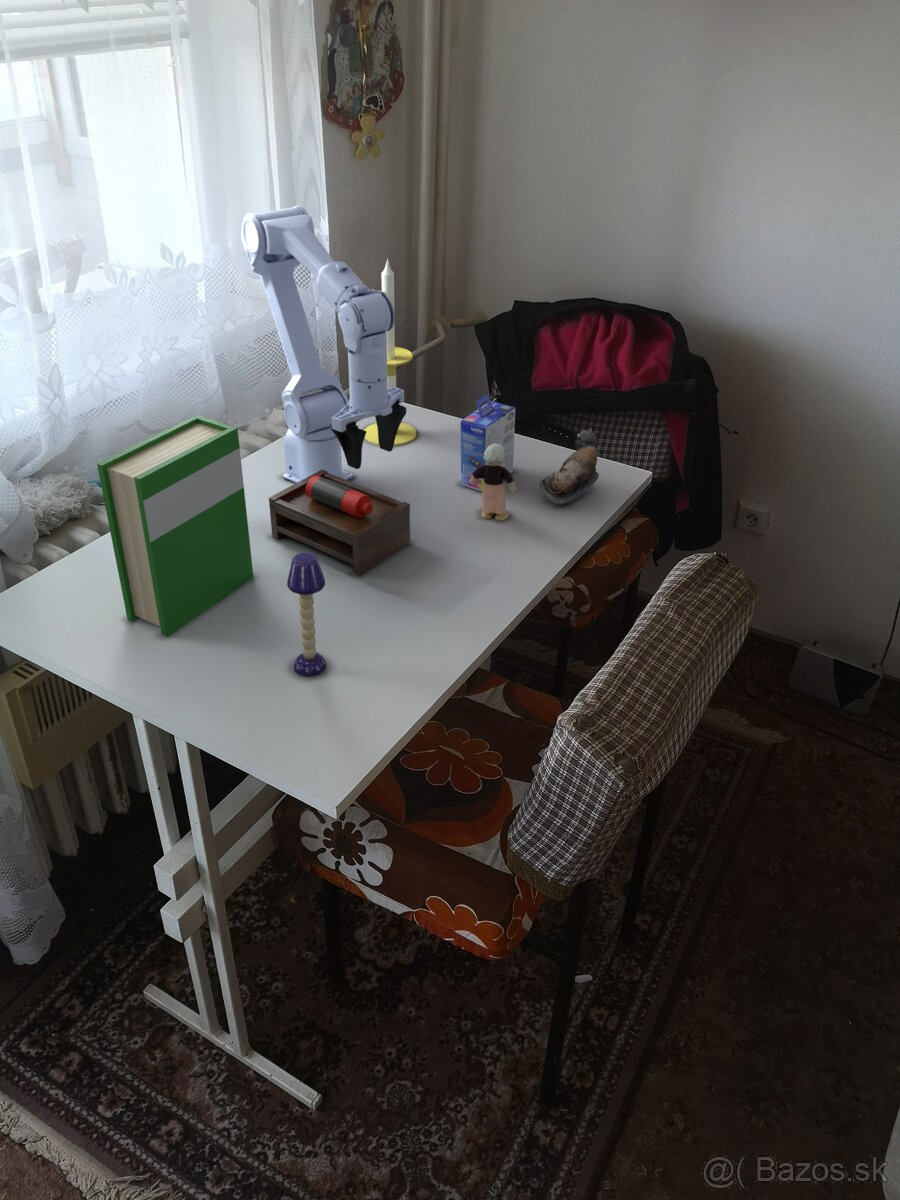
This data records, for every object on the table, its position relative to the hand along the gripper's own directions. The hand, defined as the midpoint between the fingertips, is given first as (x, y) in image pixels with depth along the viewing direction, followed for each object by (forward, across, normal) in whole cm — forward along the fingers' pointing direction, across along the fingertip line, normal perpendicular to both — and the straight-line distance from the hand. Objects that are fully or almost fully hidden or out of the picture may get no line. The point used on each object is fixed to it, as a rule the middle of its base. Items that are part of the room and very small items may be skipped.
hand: (370, 457), depth 161 cm
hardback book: (+11, -34, +4) cm, 36 cm away
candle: (+10, +25, +17) cm, 32 cm away
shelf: (+10, -9, -1) cm, 14 cm away
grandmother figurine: (+11, +12, -15) cm, 22 cm away
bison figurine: (+11, +26, -21) cm, 35 cm away
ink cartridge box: (+11, +22, -7) cm, 26 cm away
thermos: (+4, -9, -1) cm, 10 cm away
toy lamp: (+11, -35, -20) cm, 41 cm away
